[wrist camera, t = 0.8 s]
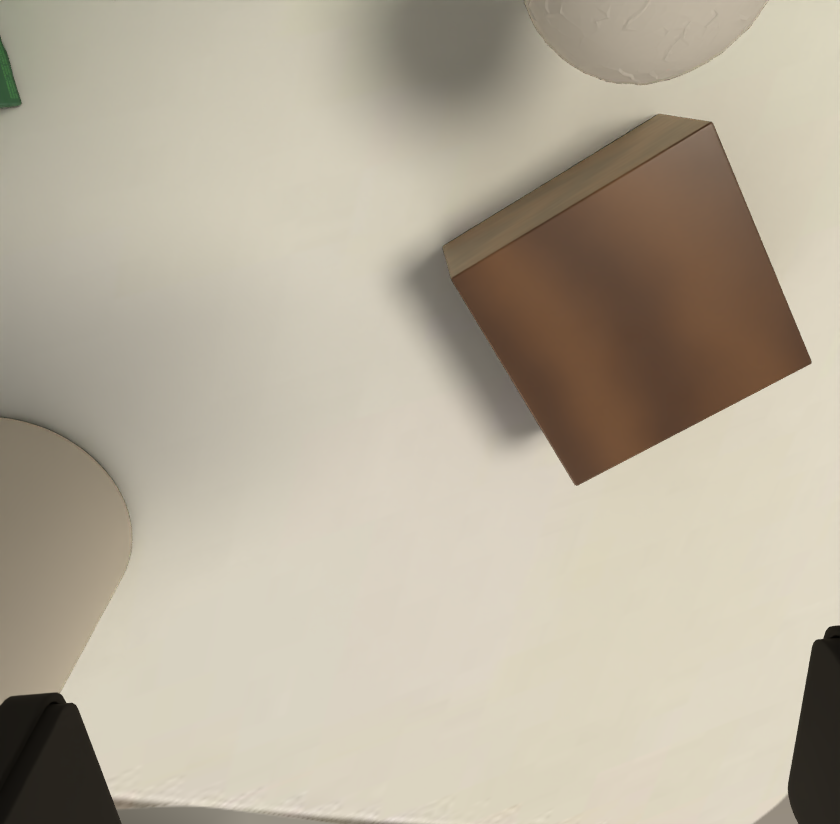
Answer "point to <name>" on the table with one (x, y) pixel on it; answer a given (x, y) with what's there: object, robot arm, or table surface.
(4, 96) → the coffee box
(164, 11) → the table surface
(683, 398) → the walnut block
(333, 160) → the table surface
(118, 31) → the table surface
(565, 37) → the lollipop
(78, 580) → the cylinder vase
